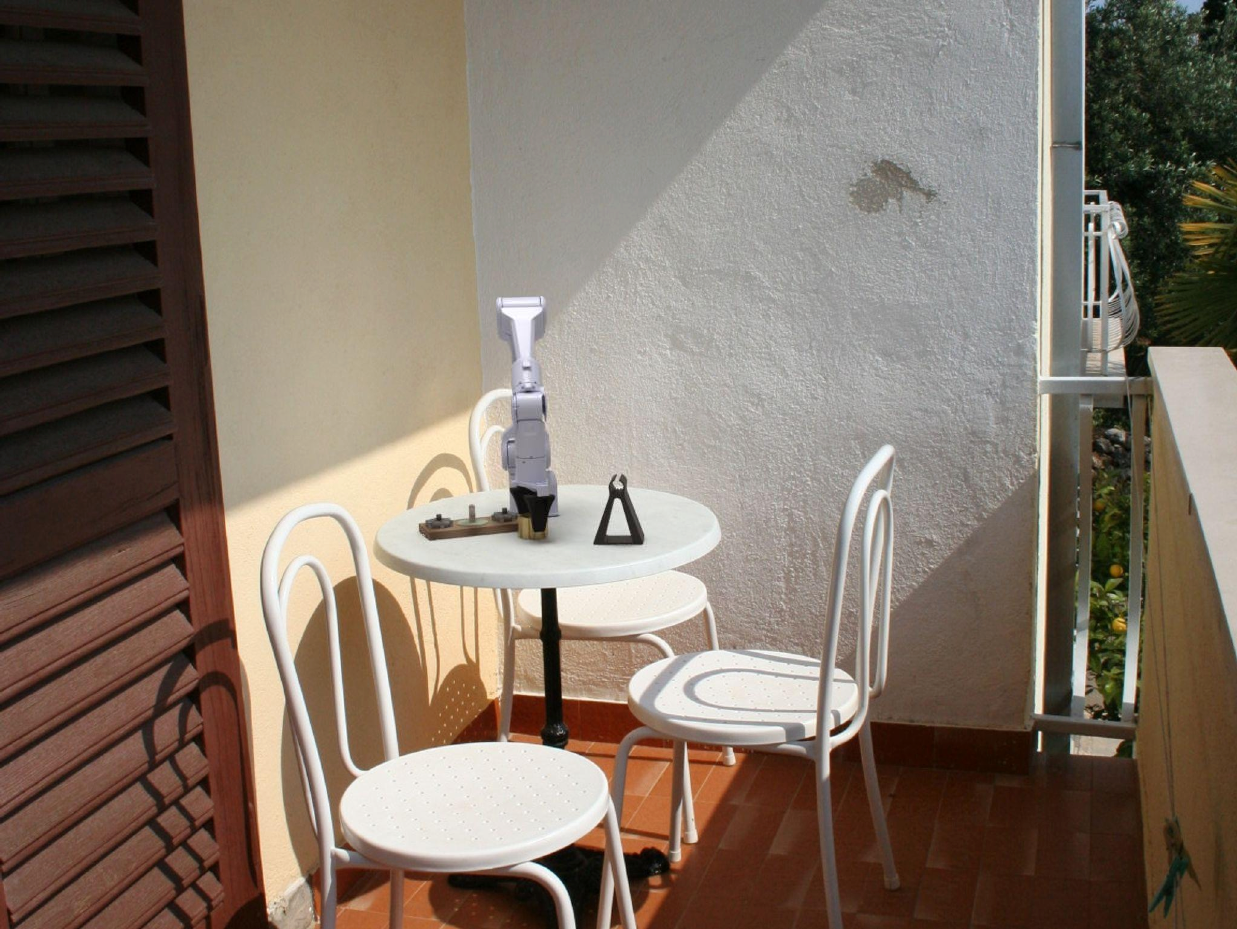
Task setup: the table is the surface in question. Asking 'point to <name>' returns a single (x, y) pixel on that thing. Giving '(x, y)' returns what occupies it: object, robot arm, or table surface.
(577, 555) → the table surface
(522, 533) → the brass gear
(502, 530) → the gear board
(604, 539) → the black clip stand
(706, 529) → the table surface
